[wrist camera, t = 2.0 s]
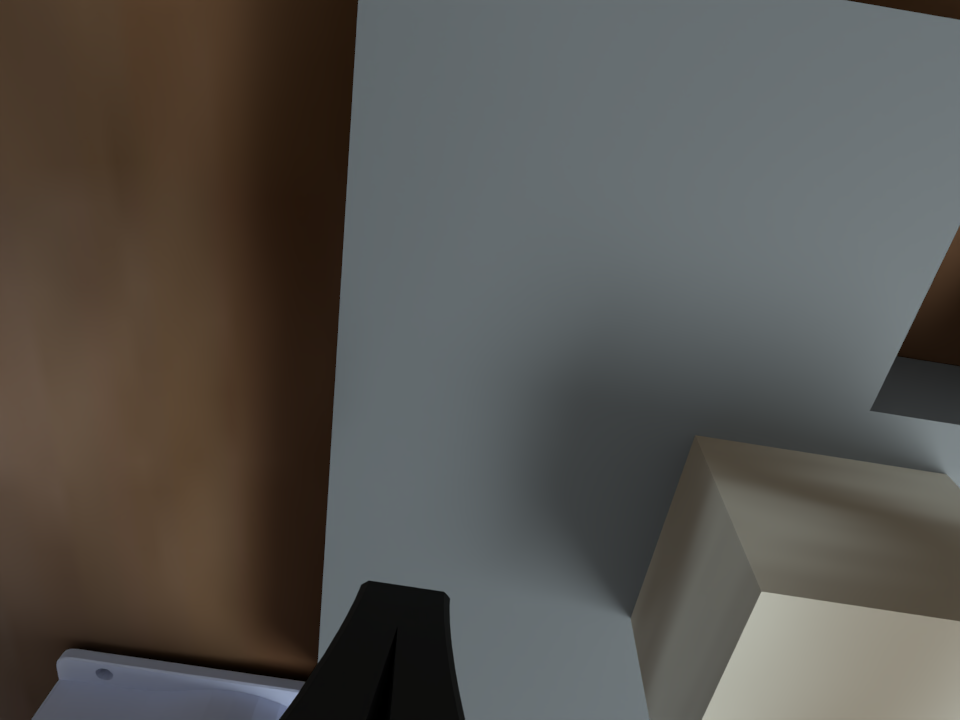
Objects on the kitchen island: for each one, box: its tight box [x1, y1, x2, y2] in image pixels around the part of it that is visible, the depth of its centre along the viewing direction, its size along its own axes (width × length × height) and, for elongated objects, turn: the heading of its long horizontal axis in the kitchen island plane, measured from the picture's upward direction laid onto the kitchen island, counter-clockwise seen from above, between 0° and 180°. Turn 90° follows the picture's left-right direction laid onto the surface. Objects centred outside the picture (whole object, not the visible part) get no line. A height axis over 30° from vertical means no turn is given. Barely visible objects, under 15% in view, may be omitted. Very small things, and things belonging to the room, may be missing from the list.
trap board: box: [318, 0, 960, 720], centre depth 16 cm, size 28×20×3 cm
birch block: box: [631, 435, 960, 720], centre depth 13 cm, size 5×5×4 cm
